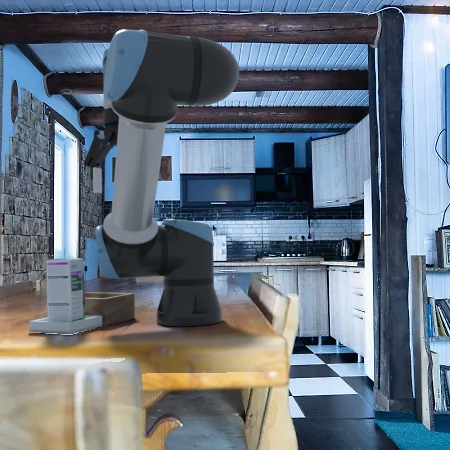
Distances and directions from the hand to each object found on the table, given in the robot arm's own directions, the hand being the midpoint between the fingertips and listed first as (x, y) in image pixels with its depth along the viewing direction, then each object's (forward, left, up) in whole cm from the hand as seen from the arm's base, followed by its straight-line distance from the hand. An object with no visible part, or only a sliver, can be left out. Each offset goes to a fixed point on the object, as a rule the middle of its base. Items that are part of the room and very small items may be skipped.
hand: (119, 191), depth 129 cm
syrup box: (-1, +23, -31) cm, 38 cm away
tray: (-1, +23, -32) cm, 39 cm away
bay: (0, +10, -32) cm, 33 cm away
